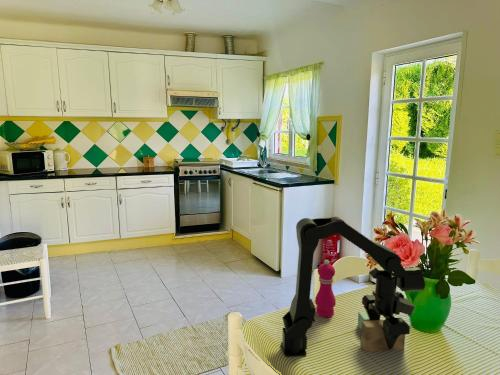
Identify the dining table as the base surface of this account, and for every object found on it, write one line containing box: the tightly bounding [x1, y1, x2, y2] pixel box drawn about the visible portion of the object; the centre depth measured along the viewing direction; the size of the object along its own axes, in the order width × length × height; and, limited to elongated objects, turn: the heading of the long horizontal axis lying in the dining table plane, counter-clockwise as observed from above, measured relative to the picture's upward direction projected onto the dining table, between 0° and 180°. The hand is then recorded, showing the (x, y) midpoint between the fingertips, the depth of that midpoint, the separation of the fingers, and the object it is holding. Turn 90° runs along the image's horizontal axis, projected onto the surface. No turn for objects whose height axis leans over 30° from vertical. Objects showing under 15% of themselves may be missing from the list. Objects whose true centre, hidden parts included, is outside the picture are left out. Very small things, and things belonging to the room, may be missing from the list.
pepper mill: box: [314, 259, 336, 318], centre depth 124 cm, size 7×7×20 cm
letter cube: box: [357, 310, 370, 331], centre depth 115 cm, size 5×5×5 cm
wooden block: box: [360, 319, 406, 353], centre depth 105 cm, size 12×4×8 cm, turn 96°
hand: (382, 339), depth 105 cm, fingers open, 9 cm apart
